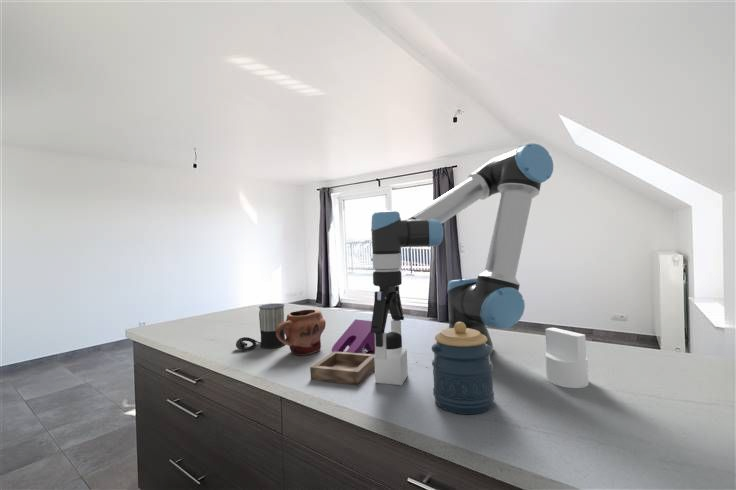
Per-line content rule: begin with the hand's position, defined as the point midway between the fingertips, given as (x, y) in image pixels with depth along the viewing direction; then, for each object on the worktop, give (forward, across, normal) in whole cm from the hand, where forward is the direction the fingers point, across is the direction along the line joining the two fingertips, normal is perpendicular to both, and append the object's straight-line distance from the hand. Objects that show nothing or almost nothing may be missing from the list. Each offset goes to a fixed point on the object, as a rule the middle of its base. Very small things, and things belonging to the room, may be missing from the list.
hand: (389, 351), depth 90 cm
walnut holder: (+8, -1, -14) cm, 16 cm away
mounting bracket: (+8, -18, -18) cm, 26 cm away
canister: (+8, +8, +19) cm, 22 cm away
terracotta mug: (+8, -14, -36) cm, 39 cm away
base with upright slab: (+7, -10, +42) cm, 44 cm away
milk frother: (+8, -17, -55) cm, 58 cm away
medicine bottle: (+8, 0, 0) cm, 8 cm away
